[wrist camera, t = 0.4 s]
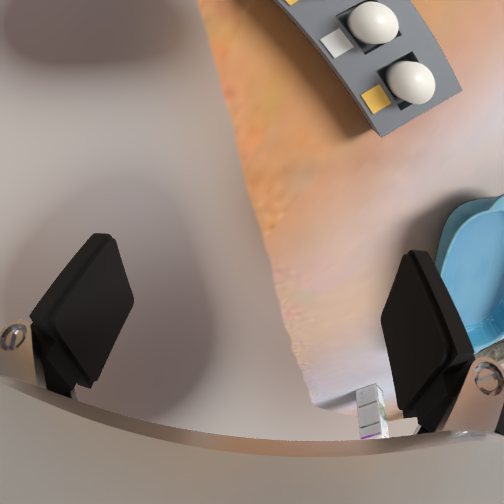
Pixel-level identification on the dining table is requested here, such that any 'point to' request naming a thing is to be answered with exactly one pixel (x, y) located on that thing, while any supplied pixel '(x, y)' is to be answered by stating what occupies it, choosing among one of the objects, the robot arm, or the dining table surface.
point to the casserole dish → (475, 267)
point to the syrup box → (371, 413)
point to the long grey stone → (493, 352)
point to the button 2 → (410, 81)
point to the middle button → (372, 23)
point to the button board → (374, 57)
